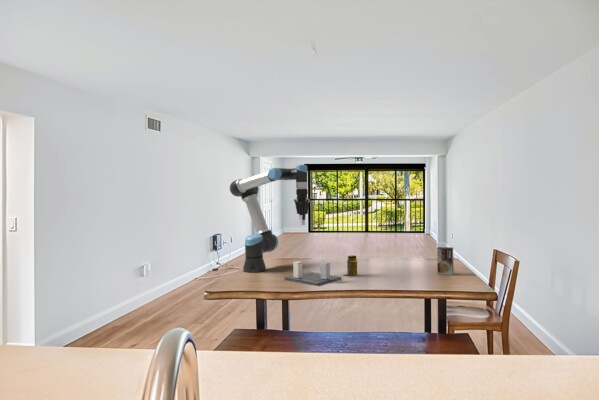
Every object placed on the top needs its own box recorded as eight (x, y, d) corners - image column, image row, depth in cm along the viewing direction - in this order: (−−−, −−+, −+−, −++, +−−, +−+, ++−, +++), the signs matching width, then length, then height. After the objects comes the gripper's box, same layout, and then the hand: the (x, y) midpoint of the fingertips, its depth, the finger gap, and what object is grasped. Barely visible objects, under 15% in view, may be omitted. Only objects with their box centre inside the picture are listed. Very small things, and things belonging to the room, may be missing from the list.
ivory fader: (293, 277, 254) (293, 262, 253) (297, 276, 256) (297, 261, 256) (298, 278, 251) (298, 262, 250) (302, 277, 253) (302, 261, 253)
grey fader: (320, 278, 248) (320, 263, 248) (324, 277, 251) (324, 262, 251) (326, 279, 246) (325, 263, 245) (330, 278, 248) (329, 262, 248)
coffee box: (453, 273, 265) (453, 247, 264) (452, 275, 259) (452, 248, 258) (438, 272, 268) (438, 246, 268) (437, 274, 263) (436, 248, 262)
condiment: (360, 275, 263) (359, 256, 263) (349, 277, 259) (349, 257, 258) (352, 273, 270) (352, 254, 269) (342, 275, 265) (341, 256, 265)
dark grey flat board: (284, 279, 255) (284, 277, 255) (309, 274, 271) (309, 271, 271) (316, 285, 237) (316, 283, 237) (341, 279, 253) (341, 276, 253)
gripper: (313, 188, 277) (313, 224, 277) (298, 188, 286) (299, 224, 286) (305, 188, 271) (305, 225, 272) (290, 188, 280) (291, 224, 281)
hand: (302, 224), depth 279 cm, fingers closed
